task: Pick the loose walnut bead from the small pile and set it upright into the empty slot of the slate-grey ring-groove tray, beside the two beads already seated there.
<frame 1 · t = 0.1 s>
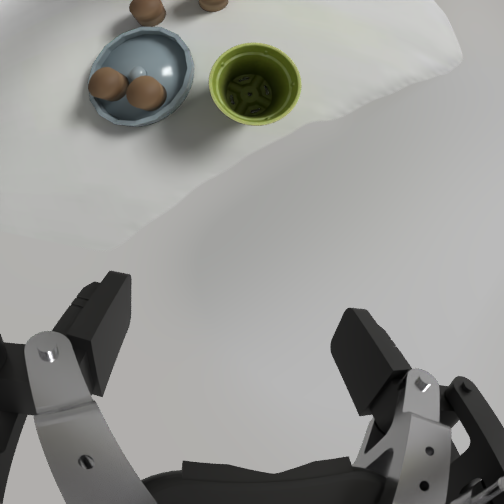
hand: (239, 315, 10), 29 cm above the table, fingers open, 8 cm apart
pile bead: (213, 1, 26), on the table
seated bead A: (115, 87, 29), point 1 cm above the table, touching groove tray
seated bead B: (151, 96, 30), point 1 cm above the table, touching groove tray
plant pot: (248, 95, 32), on the table
bead: (152, 16, 26), on the table
groove tray: (142, 77, 29), on the table
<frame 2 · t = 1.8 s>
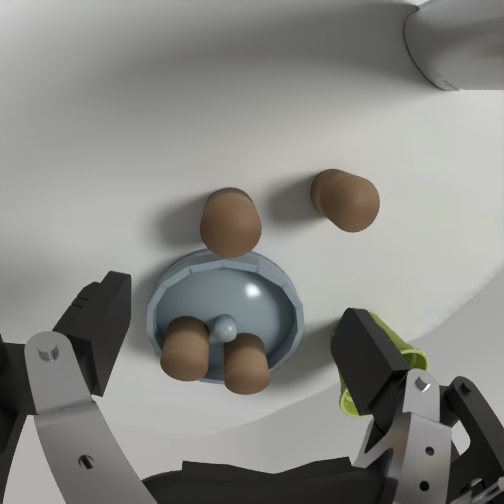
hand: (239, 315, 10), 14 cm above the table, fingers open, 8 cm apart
pile bead: (332, 192, 22), on the table
seated bead A: (188, 332, 25), point 1 cm above the table, touching groove tray
seated bead B: (243, 347, 27), point 1 cm above the table, touching groove tray
plant pot: (354, 331, 29), on the table
bead: (229, 211, 22), on the table
groove tray: (224, 316, 26), on the table
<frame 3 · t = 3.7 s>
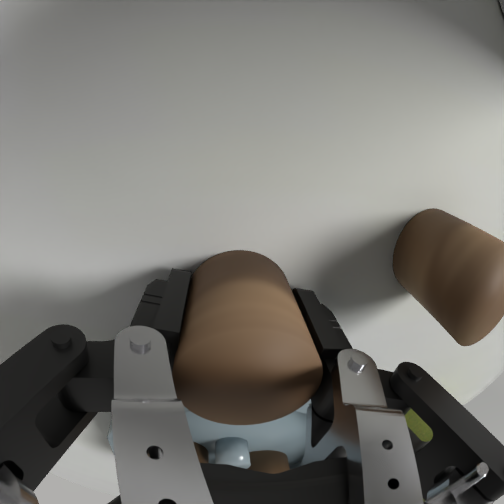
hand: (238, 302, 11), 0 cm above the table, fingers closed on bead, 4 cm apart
pile bead: (426, 250, 11), on the table
seated bead B: (258, 461, 15), point 1 cm above the table, touching groove tray
plant pot: (404, 417, 18), on the table
bead: (238, 298, 11), on the table, touching gripper
groove tray: (230, 431, 15), on the table
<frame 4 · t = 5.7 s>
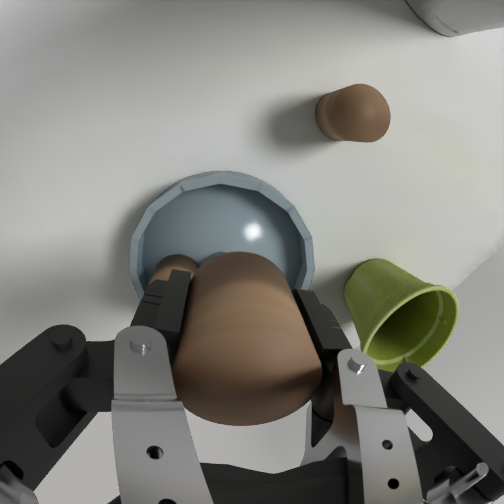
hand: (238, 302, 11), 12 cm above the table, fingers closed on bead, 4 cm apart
pile bead: (338, 116, 19), on the table
seated bead A: (178, 276, 22), point 1 cm above the table, touching groove tray
plant pot: (369, 285, 26), on the table
bead: (238, 298, 11), point 12 cm above the table, touching gripper
groove tray: (221, 257, 23), on the table
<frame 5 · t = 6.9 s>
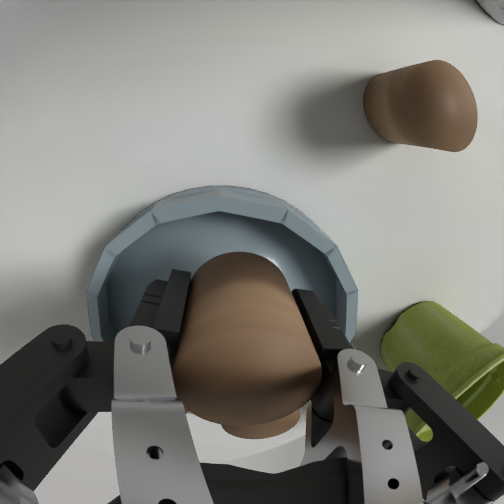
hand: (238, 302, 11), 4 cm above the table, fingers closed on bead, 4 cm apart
pile bead: (394, 107, 12), on the table
seated bead B: (252, 362, 16), point 1 cm above the table, touching groove tray
plant pot: (410, 331, 19), on the table
bead: (238, 299, 11), point 4 cm above the table, touching gripper
groove tray: (221, 311, 16), on the table
when the fingers open (3 cm above the table, at t = 7.6 s): bead drops 1 cm, resting on groove tray.
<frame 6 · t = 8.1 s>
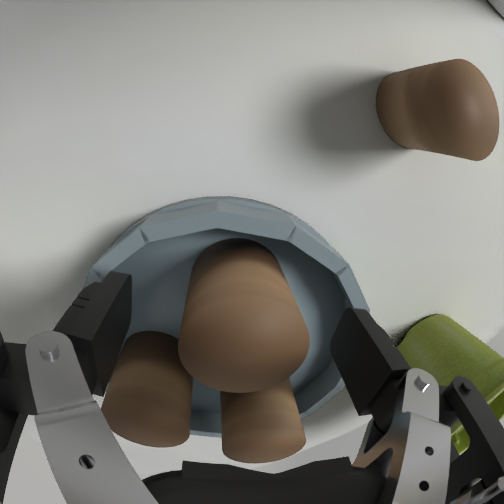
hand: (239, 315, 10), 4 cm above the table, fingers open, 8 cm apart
pile bead: (408, 109, 11), on the table
seated bead A: (157, 359, 14), point 1 cm above the table, touching groove tray
seated bead B: (254, 383, 15), point 1 cm above the table, touching groove tray
plant pot: (418, 345, 17), on the table
bead: (236, 281, 12), point 1 cm above the table, touching groove tray
groove tray: (221, 331, 14), on the table
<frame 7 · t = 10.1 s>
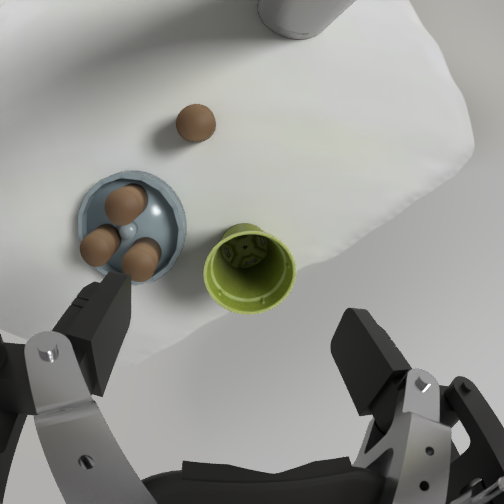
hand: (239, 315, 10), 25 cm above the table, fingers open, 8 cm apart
pile bead: (198, 125, 30), on the table
seated bead A: (107, 238, 33), point 1 cm above the table, touching groove tray
seated bead B: (146, 251, 34), point 1 cm above the table, touching groove tray
plant pot: (243, 245, 36), on the table
bead: (133, 199, 31), point 1 cm above the table, touching groove tray
groove tray: (132, 225, 33), on the table
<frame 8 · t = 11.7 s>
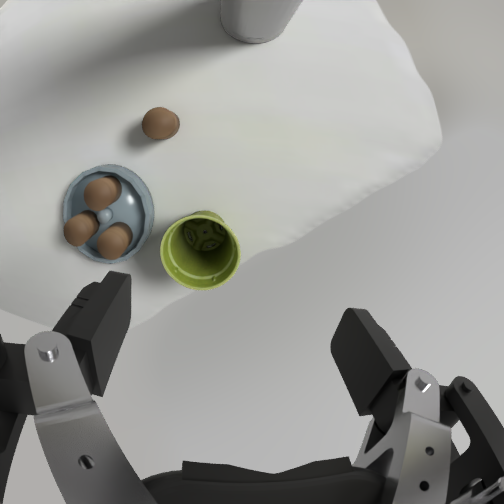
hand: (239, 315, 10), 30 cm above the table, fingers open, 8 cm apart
pile bead: (165, 124, 33), on the table
seated bead A: (88, 222, 36), point 1 cm above the table, touching groove tray
seated bead B: (120, 234, 38), point 1 cm above the table, touching groove tray
plant pot: (204, 230, 40), on the table
bead: (109, 189, 35), point 1 cm above the table, touching groove tray
groove tray: (109, 212, 37), on the table
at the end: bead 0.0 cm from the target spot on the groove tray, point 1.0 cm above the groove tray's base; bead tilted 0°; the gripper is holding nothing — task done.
